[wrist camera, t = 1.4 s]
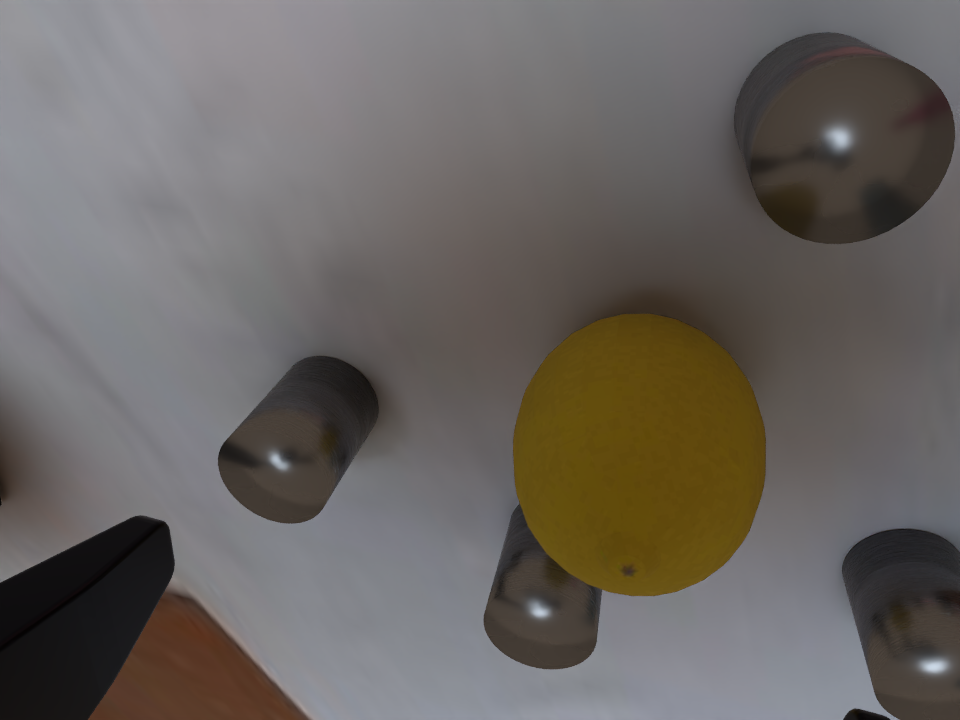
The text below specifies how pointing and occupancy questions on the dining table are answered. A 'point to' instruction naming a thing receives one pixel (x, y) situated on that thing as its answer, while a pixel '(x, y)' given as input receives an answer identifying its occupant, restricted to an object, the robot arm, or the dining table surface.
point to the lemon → (639, 455)
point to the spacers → (797, 209)
